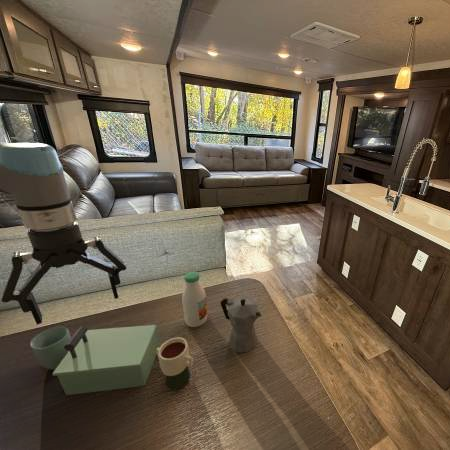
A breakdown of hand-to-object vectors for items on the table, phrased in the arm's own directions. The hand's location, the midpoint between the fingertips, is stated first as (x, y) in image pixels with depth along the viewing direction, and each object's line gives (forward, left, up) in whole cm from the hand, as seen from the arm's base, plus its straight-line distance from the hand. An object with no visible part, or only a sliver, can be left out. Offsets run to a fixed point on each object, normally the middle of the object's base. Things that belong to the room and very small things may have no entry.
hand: (80, 307), depth 58 cm
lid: (-1, +4, -19) cm, 19 cm away
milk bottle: (+12, +26, -27) cm, 39 cm away
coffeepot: (+31, +21, -27) cm, 46 cm away
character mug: (+19, +4, -27) cm, 33 cm away
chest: (0, +4, -27) cm, 27 cm away
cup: (-17, +2, -27) cm, 32 cm away
